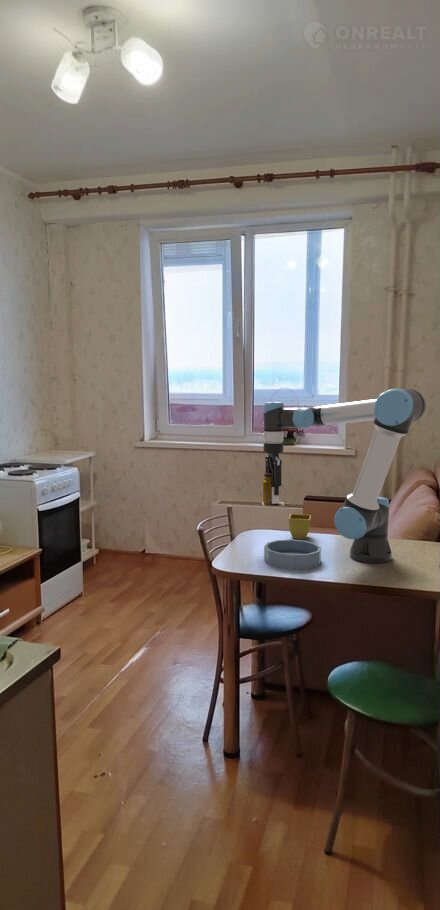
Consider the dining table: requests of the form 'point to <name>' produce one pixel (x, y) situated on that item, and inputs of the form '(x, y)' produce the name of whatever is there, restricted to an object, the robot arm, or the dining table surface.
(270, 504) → the condiment
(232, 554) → the dining table surface
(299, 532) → the flower pot
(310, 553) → the bowl
